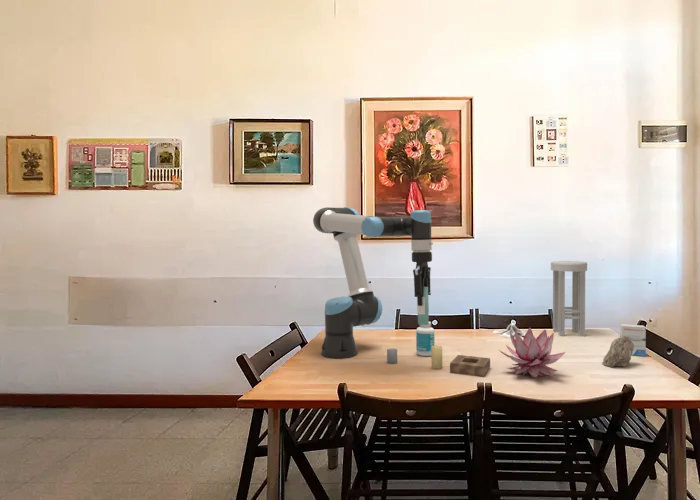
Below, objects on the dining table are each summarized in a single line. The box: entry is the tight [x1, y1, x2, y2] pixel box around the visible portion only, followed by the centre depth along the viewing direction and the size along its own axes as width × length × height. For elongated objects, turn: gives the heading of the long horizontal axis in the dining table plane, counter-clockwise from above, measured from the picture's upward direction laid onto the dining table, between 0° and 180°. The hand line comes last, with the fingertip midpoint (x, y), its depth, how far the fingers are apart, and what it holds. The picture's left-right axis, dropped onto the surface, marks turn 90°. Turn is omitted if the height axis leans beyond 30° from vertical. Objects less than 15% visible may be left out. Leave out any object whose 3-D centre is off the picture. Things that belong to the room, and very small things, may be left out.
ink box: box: [619, 323, 647, 357], centre depth 190 cm, size 8×5×12 cm, turn 65°
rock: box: [601, 336, 634, 368], centre depth 176 cm, size 14×10×8 cm
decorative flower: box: [498, 327, 566, 378], centre depth 167 cm, size 21×21×15 cm
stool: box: [550, 260, 588, 337], centre depth 228 cm, size 16×16×35 cm
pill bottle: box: [415, 321, 435, 357], centre depth 195 cm, size 8×7×14 cm
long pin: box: [417, 286, 430, 326], centre depth 178 cm, size 4×4×14 cm
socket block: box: [449, 354, 491, 378], centre depth 173 cm, size 12×12×4 cm
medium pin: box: [430, 344, 443, 370], centre depth 176 cm, size 4×4×8 cm
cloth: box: [492, 322, 536, 339], centre depth 231 cm, size 22×19×6 cm
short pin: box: [386, 348, 398, 365], centre depth 184 cm, size 4×4×5 cm
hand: (423, 313), depth 178 cm, fingers closed on long pin, 4 cm apart
